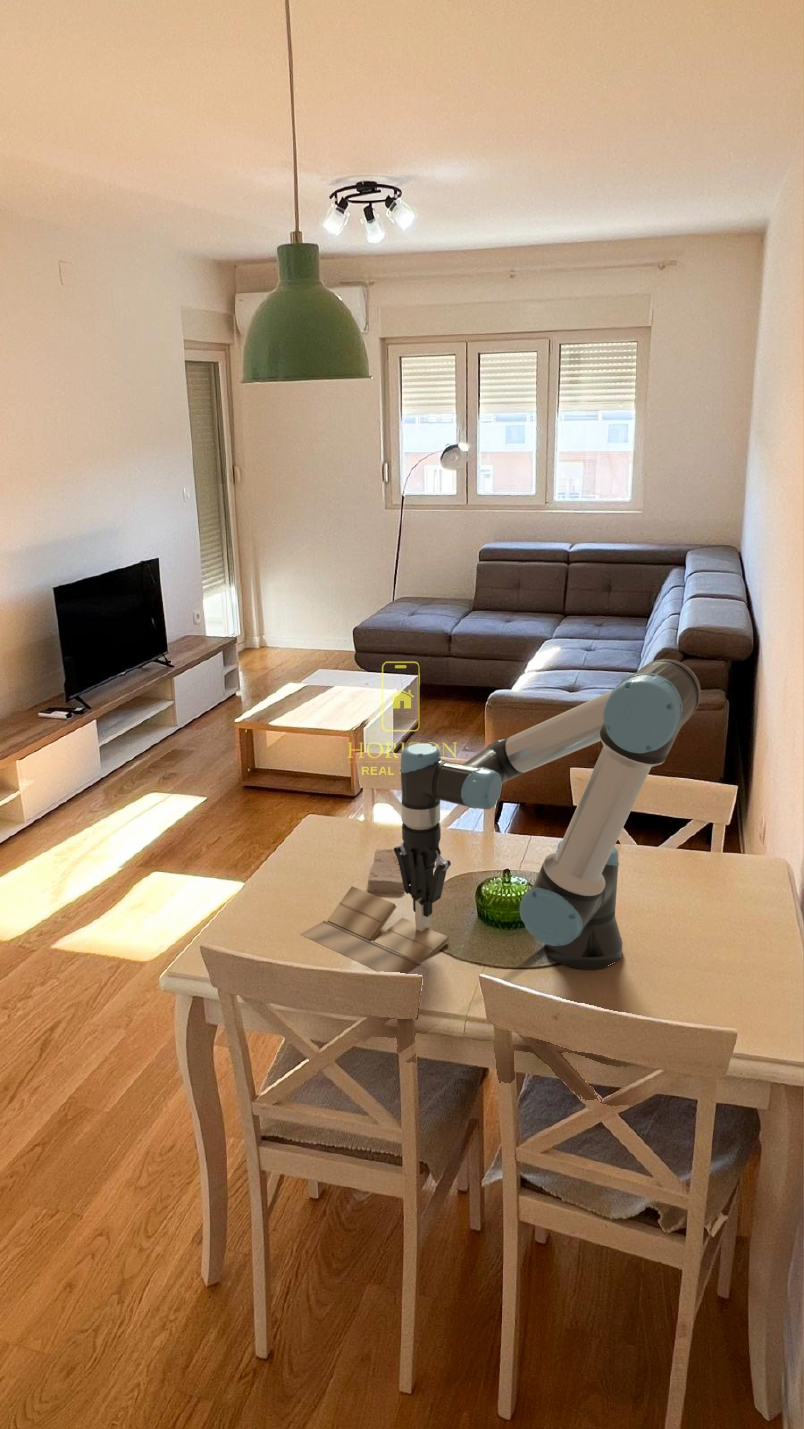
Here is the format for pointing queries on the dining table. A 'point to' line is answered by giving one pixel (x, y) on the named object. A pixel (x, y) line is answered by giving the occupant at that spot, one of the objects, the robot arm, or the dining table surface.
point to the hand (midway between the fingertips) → (423, 927)
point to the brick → (385, 873)
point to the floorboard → (359, 948)
